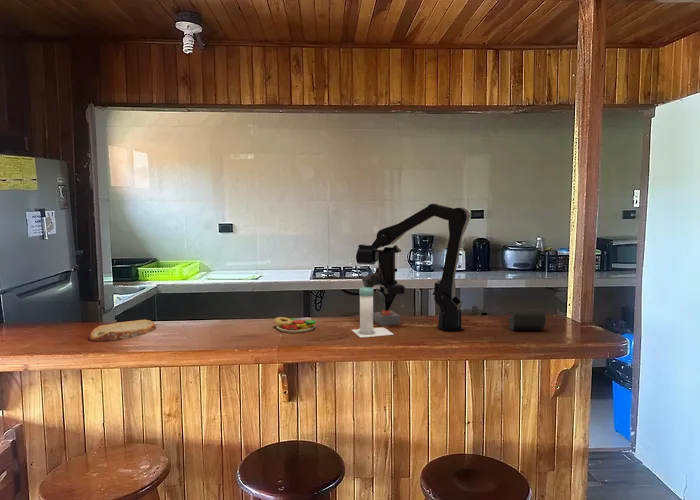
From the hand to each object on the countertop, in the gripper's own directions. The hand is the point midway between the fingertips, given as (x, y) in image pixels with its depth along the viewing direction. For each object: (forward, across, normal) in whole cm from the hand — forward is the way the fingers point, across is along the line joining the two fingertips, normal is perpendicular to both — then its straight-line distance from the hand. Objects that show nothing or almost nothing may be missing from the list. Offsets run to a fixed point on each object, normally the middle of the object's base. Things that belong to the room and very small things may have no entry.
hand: (386, 310), depth 170 cm
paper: (+4, +11, -9) cm, 15 cm away
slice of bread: (+5, -12, -84) cm, 85 cm away
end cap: (+5, +22, +40) cm, 46 cm away
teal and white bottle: (+4, +11, -11) cm, 16 cm away
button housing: (+4, 0, 0) cm, 4 cm away
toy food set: (+5, -2, -31) cm, 32 cm away
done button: (+4, 0, 0) cm, 4 cm away
